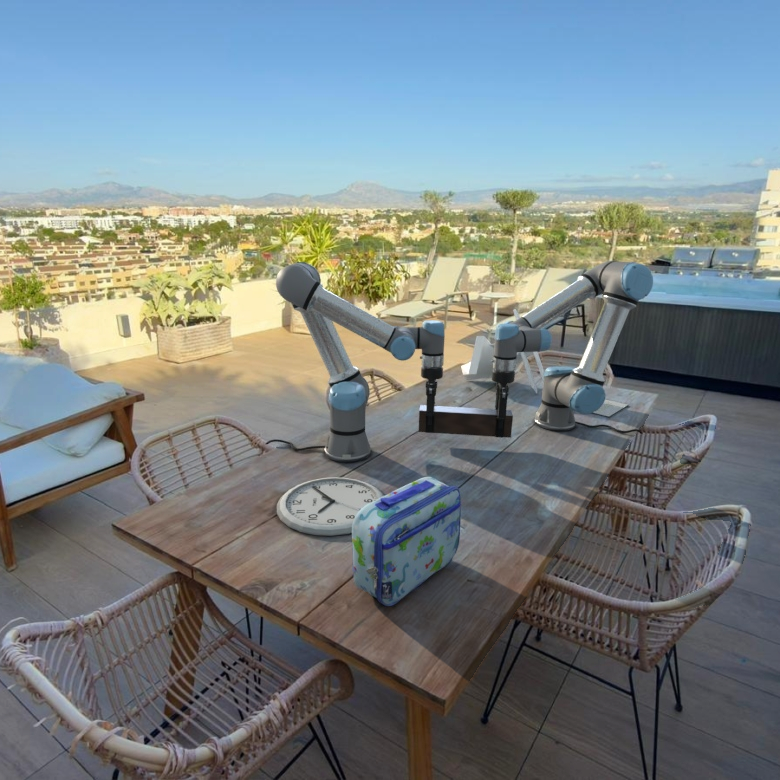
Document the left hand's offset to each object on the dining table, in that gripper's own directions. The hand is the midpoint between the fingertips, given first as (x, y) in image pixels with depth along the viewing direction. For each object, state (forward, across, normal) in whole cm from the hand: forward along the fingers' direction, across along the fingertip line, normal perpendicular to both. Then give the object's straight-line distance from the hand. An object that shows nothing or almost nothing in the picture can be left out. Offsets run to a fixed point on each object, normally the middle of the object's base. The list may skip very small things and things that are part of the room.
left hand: (429, 428), depth 186 cm
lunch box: (+4, +78, -1) cm, 78 cm away
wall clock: (+4, +50, -24) cm, 56 cm away
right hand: (0, 0, +24) cm, 24 cm away
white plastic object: (+5, -71, +31) cm, 78 cm away
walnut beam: (0, 0, +12) cm, 12 cm away
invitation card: (+5, -49, +72) cm, 87 cm away
